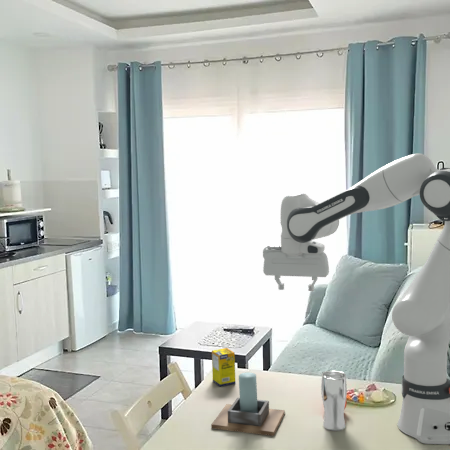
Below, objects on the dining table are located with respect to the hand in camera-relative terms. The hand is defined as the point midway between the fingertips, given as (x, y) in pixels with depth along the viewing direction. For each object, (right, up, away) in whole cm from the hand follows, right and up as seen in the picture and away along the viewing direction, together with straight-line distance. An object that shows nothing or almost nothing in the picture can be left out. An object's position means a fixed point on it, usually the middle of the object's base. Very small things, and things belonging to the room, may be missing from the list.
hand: (296, 290), depth 181 cm
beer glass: (+8, -36, -18) cm, 42 cm away
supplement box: (-23, -33, +16) cm, 43 cm away
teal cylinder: (-15, -35, -14) cm, 40 cm away
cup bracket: (-15, -36, -14) cm, 42 cm away
